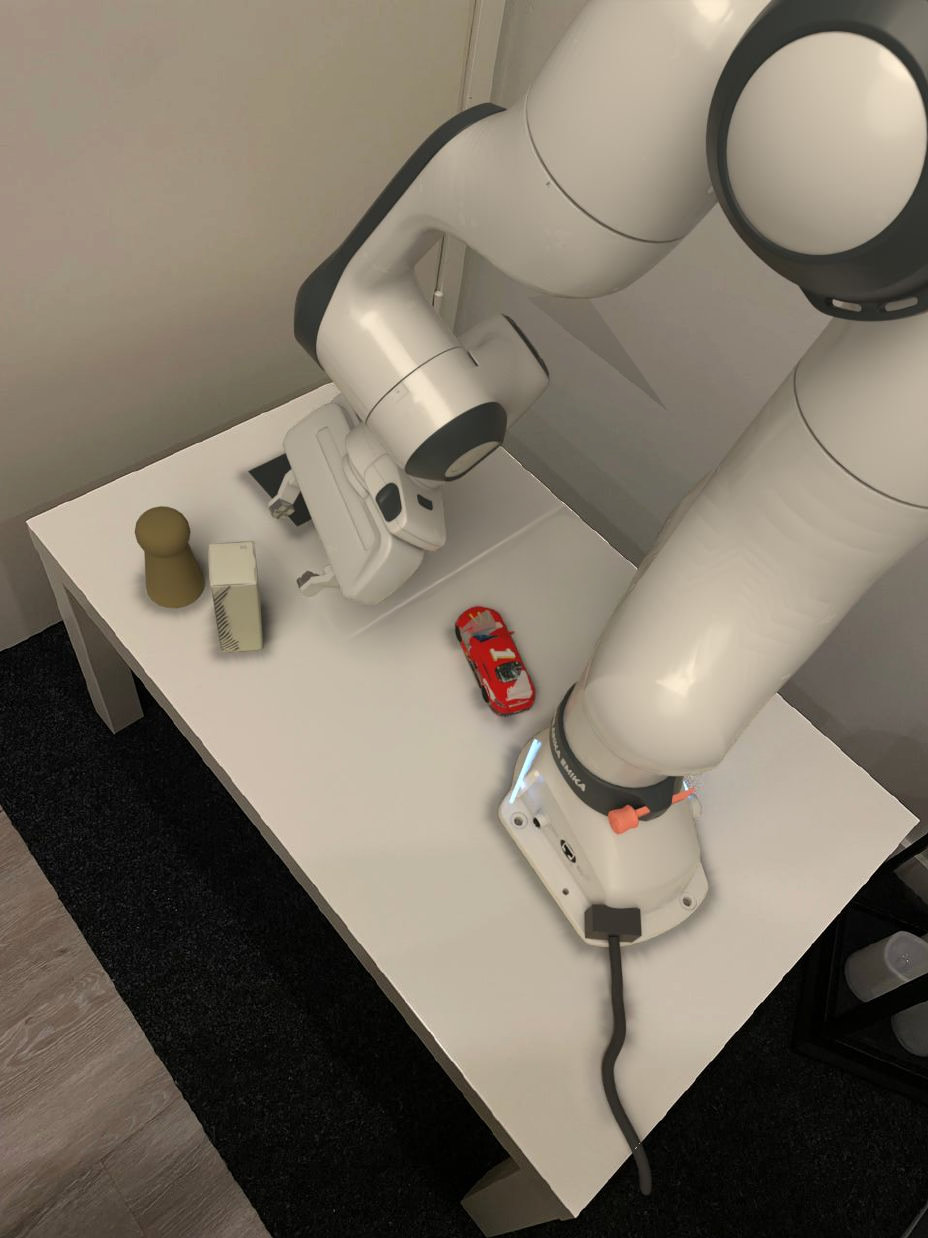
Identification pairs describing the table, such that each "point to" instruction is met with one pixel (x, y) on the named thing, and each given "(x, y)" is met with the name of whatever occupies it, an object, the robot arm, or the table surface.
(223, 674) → the table surface
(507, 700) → the race car
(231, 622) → the box
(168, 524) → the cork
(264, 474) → the slate board
